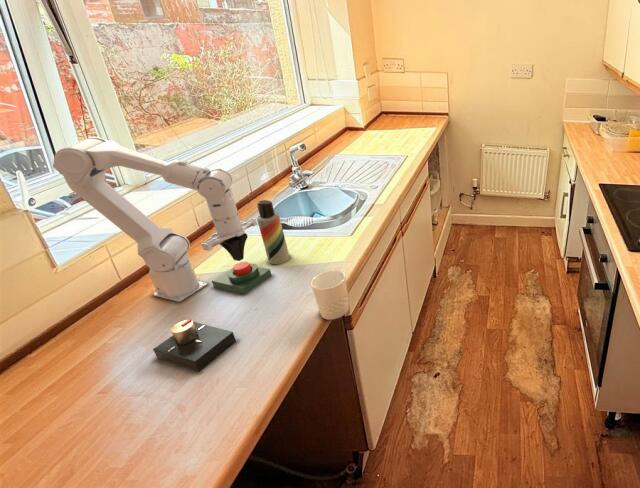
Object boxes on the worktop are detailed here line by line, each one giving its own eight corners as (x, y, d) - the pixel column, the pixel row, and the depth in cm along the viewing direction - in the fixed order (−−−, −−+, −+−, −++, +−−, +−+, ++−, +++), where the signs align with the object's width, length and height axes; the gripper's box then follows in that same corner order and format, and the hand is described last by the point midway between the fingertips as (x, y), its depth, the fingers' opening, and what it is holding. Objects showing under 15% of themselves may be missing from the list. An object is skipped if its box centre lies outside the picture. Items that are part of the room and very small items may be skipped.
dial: (185, 346, 88) (179, 333, 86) (171, 342, 88) (165, 329, 87) (202, 333, 91) (197, 320, 89) (188, 330, 92) (183, 317, 90)
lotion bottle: (264, 261, 123) (248, 203, 115) (282, 252, 127) (267, 195, 119) (276, 266, 120) (260, 207, 112) (293, 257, 125) (279, 199, 117)
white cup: (341, 297, 108) (335, 266, 104) (357, 309, 104) (351, 278, 99) (312, 312, 102) (305, 280, 98) (328, 326, 98) (320, 293, 94)
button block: (213, 287, 111) (209, 275, 109) (241, 269, 119) (238, 258, 117) (245, 294, 108) (241, 282, 107) (271, 275, 116) (268, 264, 115)
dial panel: (157, 359, 88) (152, 348, 87) (196, 330, 96) (192, 320, 95) (199, 372, 85) (194, 361, 84) (236, 341, 93) (232, 331, 92)
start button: (231, 274, 111) (229, 268, 110) (243, 266, 114) (241, 260, 113) (242, 277, 110) (240, 270, 109) (254, 268, 113) (252, 262, 112)
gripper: (211, 231, 97) (226, 276, 103) (260, 206, 110) (271, 248, 116) (189, 226, 99) (205, 272, 105) (240, 202, 112) (252, 244, 117)
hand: (238, 259), depth 110 cm, fingers closed
